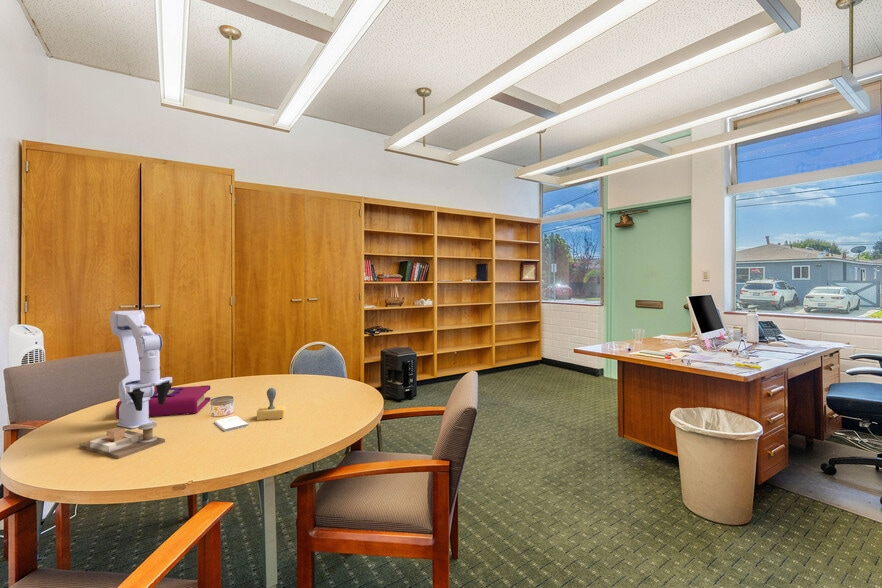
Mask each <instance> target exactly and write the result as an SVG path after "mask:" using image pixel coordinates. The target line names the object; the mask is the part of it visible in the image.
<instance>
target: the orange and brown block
mask: <svg viewBox="0 0 882 588" xmlns="http://www.w3.org/2000/svg"><path fill="white" fill-rule="evenodd" d="M125 431H126V429H125V428H123V427H122V428H121V427H114V428H111V429H106V436H107V441H108V442H115V441H118V440H121V439H125Z"/></svg>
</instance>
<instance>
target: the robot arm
mask: <svg viewBox="0 0 882 588" xmlns="http://www.w3.org/2000/svg"><path fill="white" fill-rule="evenodd" d="M145 320H146V315H145V312H144V311H143V310H142V309H138V310H134V309H133V310H112V312H111V313H110V316H109V322H110V323H109V325H110V328H111V332H112V335H113V336H117V337H118V340H119V343H120V349H121V354H122V360H123V366H124V372H125V377H123V379H121V381H119V383H118V398H119V401H122V403H121V405H120V407H119V419H118V423H116V426H119V427H122V428H128V429H136V428H138V427H139V426H140V425H143V424H147V423H155V420H153V419H150V418H149V400H150V397H152V396H153V394H154V388H155V387H156V388H157V392H158V404H161V405H163V404H164V402H165V399H166V396H167V393H168V391H169V390H170V388H172V383H173V377H172V376H166V377H161V370H160V368H161V361H160V360H161V357H160V356H161V353H160V351H161V350H162V349H163V346H164V345H163V344H164V342H163V337H162V335H161V334H160V333H155V332H154V331H153V329H152V328H151V327H150V326H149V325H148V324H145V322H146V321H145Z"/></svg>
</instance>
